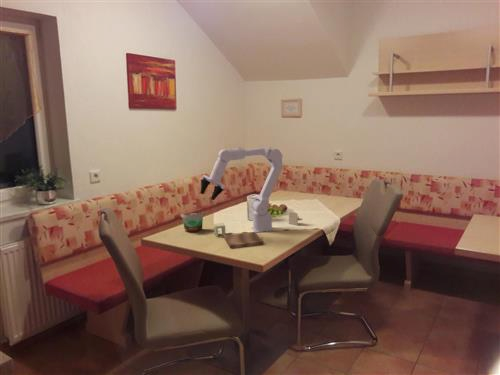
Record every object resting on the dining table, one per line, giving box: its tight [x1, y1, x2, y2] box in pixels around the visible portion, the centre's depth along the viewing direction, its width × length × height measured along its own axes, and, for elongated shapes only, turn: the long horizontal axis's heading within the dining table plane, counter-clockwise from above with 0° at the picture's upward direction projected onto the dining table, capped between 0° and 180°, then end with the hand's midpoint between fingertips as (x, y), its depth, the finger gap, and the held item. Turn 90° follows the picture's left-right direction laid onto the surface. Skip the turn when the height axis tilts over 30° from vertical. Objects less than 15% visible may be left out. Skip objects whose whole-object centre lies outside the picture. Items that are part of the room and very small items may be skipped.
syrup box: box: [246, 193, 259, 222], centre depth 239 cm, size 6×6×14 cm
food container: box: [180, 211, 205, 234], centre depth 222 cm, size 12×6×10 cm, turn 105°
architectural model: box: [288, 211, 303, 226], centre depth 228 cm, size 3×7×7 cm, turn 50°
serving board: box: [223, 231, 264, 249], centre depth 204 cm, size 16×16×2 cm
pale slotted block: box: [213, 222, 227, 238], centre depth 215 cm, size 5×5×6 cm
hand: (207, 196), depth 210 cm, fingers open, 7 cm apart
